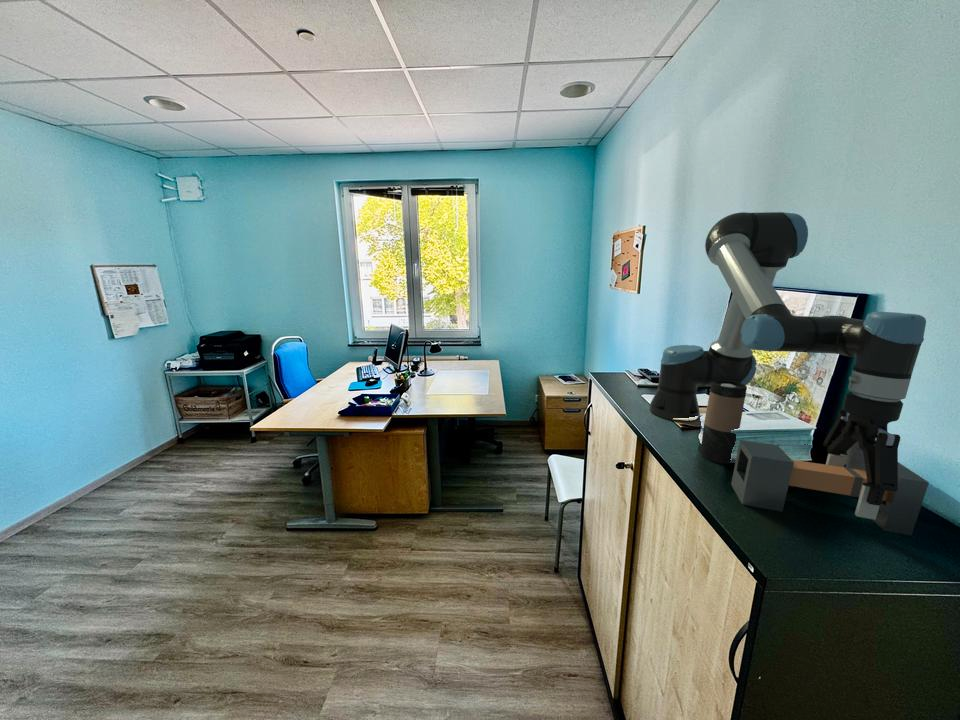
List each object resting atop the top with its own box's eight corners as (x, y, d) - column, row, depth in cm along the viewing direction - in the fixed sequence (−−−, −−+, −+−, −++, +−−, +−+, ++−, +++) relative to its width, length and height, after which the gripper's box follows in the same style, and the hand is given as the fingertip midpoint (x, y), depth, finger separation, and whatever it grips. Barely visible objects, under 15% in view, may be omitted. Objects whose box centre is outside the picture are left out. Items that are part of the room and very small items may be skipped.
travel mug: (738, 465, 94) (753, 389, 90) (705, 462, 96) (718, 387, 91) (725, 452, 101) (739, 380, 97) (694, 448, 103) (706, 378, 98)
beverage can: (855, 486, 86) (872, 425, 82) (865, 498, 81) (884, 434, 78) (826, 481, 88) (842, 421, 84) (835, 492, 83) (852, 429, 80)
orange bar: (756, 471, 82) (759, 454, 81) (886, 492, 75) (892, 474, 74) (763, 481, 78) (766, 463, 77) (900, 504, 71) (906, 484, 70)
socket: (858, 506, 78) (872, 458, 76) (883, 510, 77) (897, 461, 75) (883, 530, 71) (900, 478, 68) (911, 535, 70) (928, 482, 67)
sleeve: (731, 484, 86) (739, 439, 83) (767, 490, 83) (777, 445, 81) (742, 504, 78) (752, 456, 76) (782, 511, 76) (794, 462, 74)
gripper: (818, 377, 83) (796, 467, 88) (892, 414, 61) (858, 531, 66) (861, 381, 80) (836, 473, 85) (954, 421, 58) (914, 542, 63)
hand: (846, 498), depth 75 cm, fingers open, 11 cm apart
